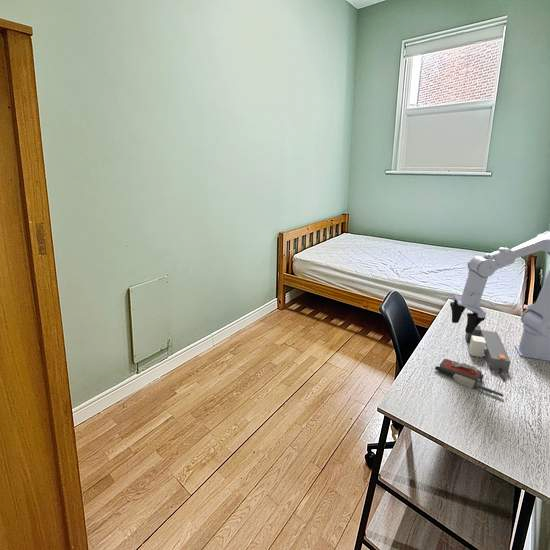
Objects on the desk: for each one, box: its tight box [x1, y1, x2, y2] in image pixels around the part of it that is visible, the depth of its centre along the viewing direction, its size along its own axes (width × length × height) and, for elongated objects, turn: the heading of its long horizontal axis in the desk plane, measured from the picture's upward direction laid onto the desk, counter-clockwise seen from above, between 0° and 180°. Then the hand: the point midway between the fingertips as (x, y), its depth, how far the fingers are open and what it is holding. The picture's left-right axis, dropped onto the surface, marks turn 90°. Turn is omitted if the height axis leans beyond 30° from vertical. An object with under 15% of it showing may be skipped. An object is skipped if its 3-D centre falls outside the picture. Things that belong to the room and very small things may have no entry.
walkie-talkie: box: [434, 358, 504, 398], centre depth 113 cm, size 9×4×20 cm
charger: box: [468, 335, 488, 358], centre depth 127 cm, size 7×4×6 cm, turn 69°
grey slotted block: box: [464, 324, 511, 381], centre depth 126 cm, size 10×28×6 cm, turn 159°
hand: (461, 327), depth 125 cm, fingers open, 7 cm apart
